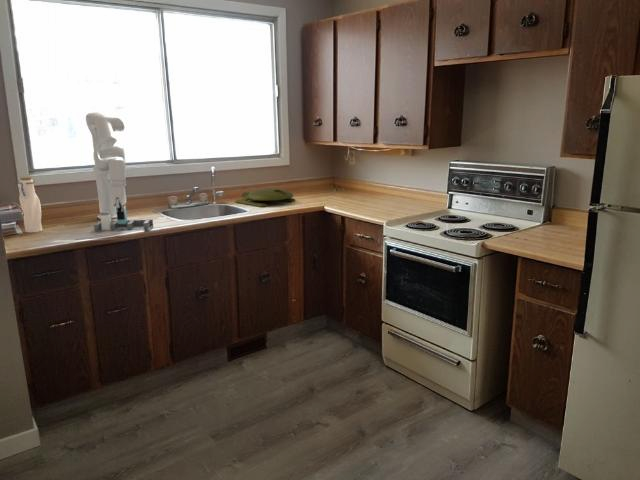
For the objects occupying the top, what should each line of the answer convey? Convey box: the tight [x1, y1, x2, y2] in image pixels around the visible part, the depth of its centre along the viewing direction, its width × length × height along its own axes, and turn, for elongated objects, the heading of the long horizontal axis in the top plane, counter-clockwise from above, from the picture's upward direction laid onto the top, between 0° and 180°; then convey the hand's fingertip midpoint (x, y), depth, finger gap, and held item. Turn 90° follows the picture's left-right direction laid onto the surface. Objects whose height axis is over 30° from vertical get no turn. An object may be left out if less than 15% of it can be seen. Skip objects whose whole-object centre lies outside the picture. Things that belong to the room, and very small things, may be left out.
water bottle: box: [17, 176, 43, 233], centre depth 261 cm, size 10×9×28 cm
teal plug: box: [116, 204, 128, 224], centre depth 262 cm, size 4×4×9 cm
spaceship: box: [234, 187, 296, 208], centre depth 339 cm, size 35×31×10 cm
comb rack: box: [91, 218, 154, 233], centre depth 264 cm, size 12×28×4 cm, turn 98°
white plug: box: [99, 211, 112, 230], centre depth 262 cm, size 4×4×9 cm
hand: (122, 218), depth 263 cm, fingers closed on teal plug, 4 cm apart
